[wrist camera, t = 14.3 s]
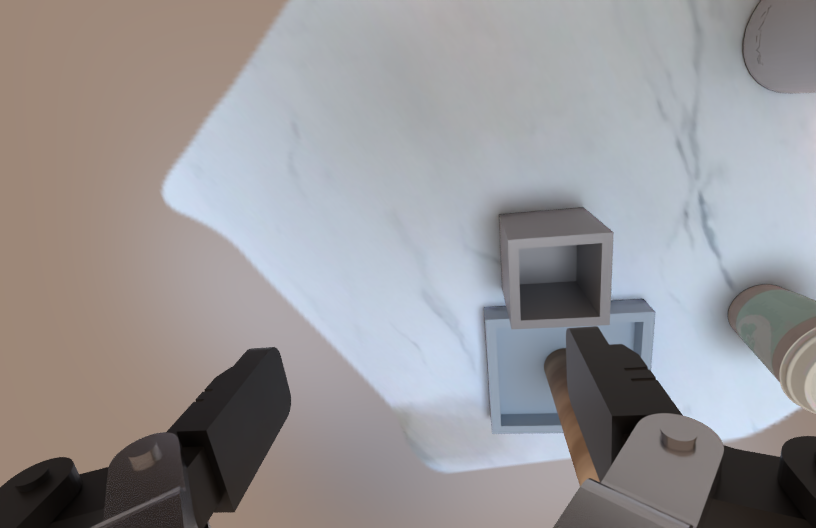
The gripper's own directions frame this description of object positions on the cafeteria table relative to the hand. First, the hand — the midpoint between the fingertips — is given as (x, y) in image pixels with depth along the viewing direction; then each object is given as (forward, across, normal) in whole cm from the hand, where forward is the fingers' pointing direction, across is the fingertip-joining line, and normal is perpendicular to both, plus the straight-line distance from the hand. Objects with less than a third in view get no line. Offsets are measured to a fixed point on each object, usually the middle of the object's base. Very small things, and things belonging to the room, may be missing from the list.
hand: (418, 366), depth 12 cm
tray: (+33, -10, +21) cm, 41 cm away
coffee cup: (+33, -29, +17) cm, 47 cm away
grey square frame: (+33, -8, +8) cm, 35 cm away
